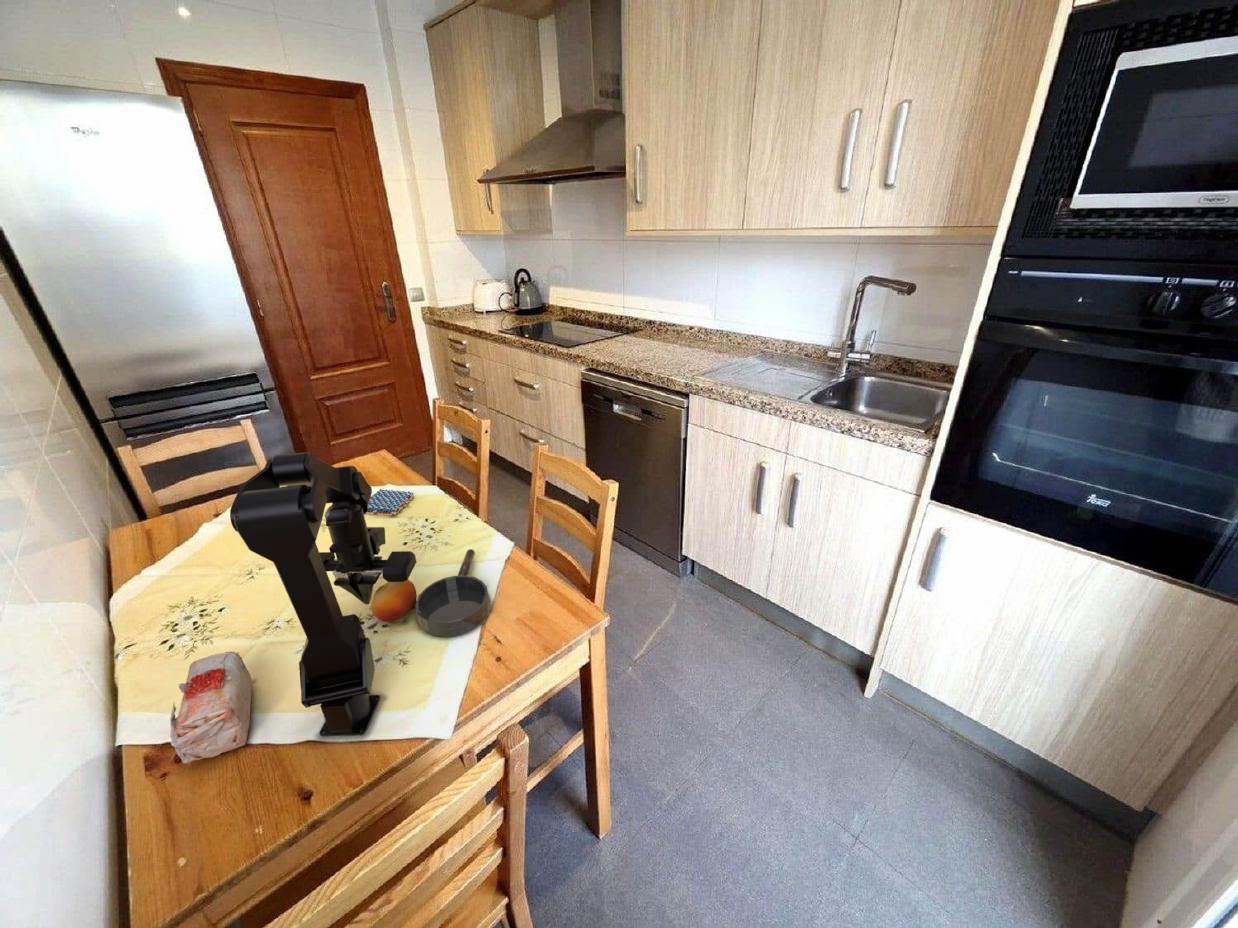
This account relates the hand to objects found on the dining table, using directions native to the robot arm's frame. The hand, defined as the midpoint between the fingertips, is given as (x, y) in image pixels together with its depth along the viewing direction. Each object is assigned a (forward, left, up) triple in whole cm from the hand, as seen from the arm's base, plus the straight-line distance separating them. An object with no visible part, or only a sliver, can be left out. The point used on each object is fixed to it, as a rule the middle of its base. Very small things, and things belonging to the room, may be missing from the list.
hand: (367, 602), depth 94 cm
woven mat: (+40, +11, -3) cm, 41 cm away
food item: (-23, +12, -3) cm, 26 cm away
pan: (0, -16, -3) cm, 16 cm away
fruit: (0, -5, -3) cm, 6 cm away
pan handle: (+11, -16, -1) cm, 19 cm away
